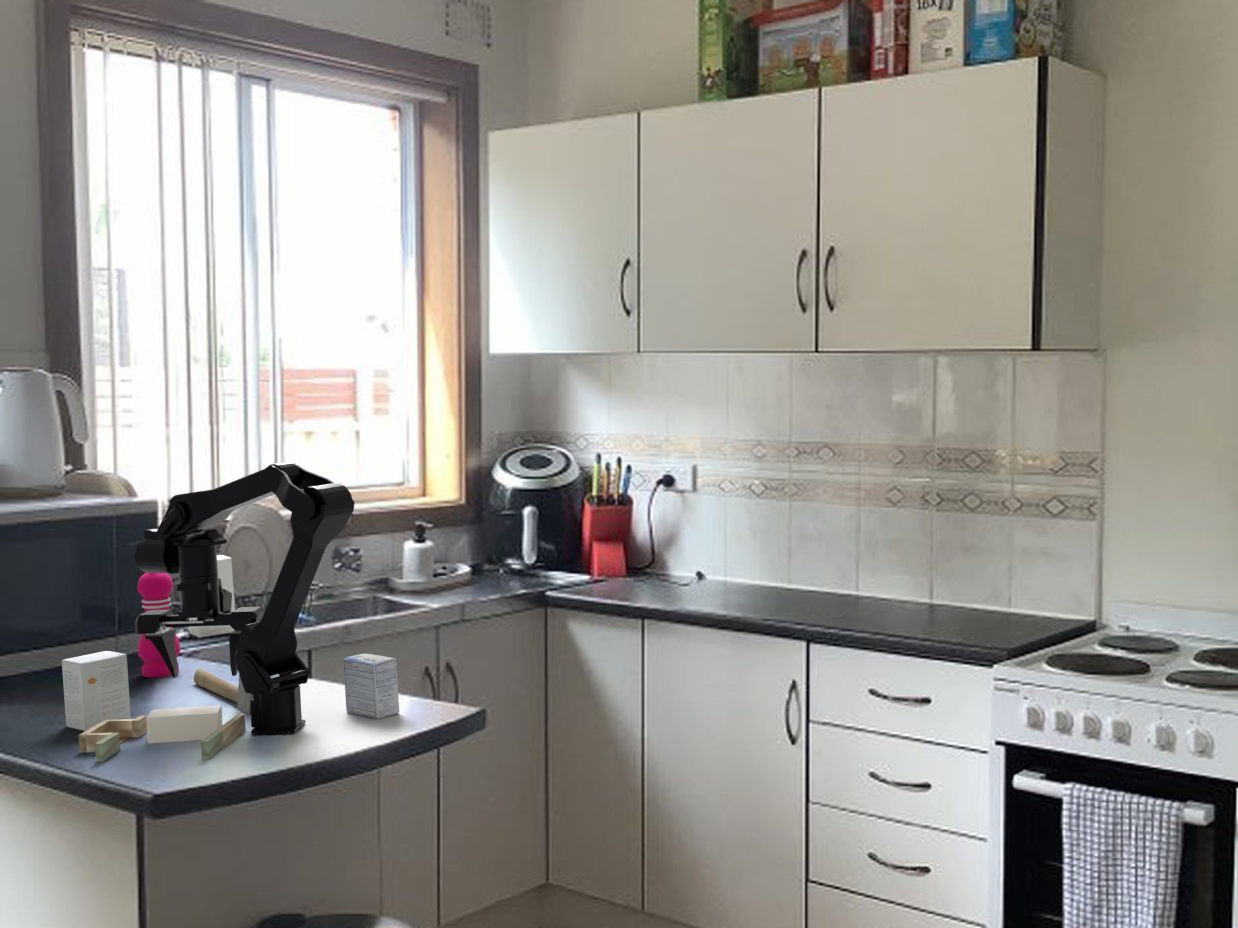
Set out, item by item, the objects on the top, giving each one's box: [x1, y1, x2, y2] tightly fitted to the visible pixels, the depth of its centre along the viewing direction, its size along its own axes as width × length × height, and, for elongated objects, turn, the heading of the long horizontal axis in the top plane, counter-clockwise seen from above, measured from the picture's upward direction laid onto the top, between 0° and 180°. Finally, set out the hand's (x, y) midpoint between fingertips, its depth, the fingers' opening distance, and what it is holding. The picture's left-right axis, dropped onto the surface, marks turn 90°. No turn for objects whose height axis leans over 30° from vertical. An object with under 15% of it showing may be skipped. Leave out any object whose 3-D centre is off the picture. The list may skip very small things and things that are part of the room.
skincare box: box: [189, 554, 236, 639], centre depth 303 cm, size 8×7×16 cm
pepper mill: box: [137, 572, 181, 679], centre depth 264 cm, size 7×7×20 cm
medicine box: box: [343, 653, 400, 720], centre depth 228 cm, size 8×4×9 cm, turn 47°
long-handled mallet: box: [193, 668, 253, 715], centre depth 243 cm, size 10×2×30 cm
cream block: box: [146, 704, 224, 744], centre depth 218 cm, size 10×5×4 cm, turn 98°
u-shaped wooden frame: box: [78, 712, 247, 762], centre depth 213 cm, size 20×16×2 cm
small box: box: [61, 650, 132, 732], centre depth 228 cm, size 8×6×10 cm
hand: (204, 676), depth 227 cm, fingers open, 9 cm apart
